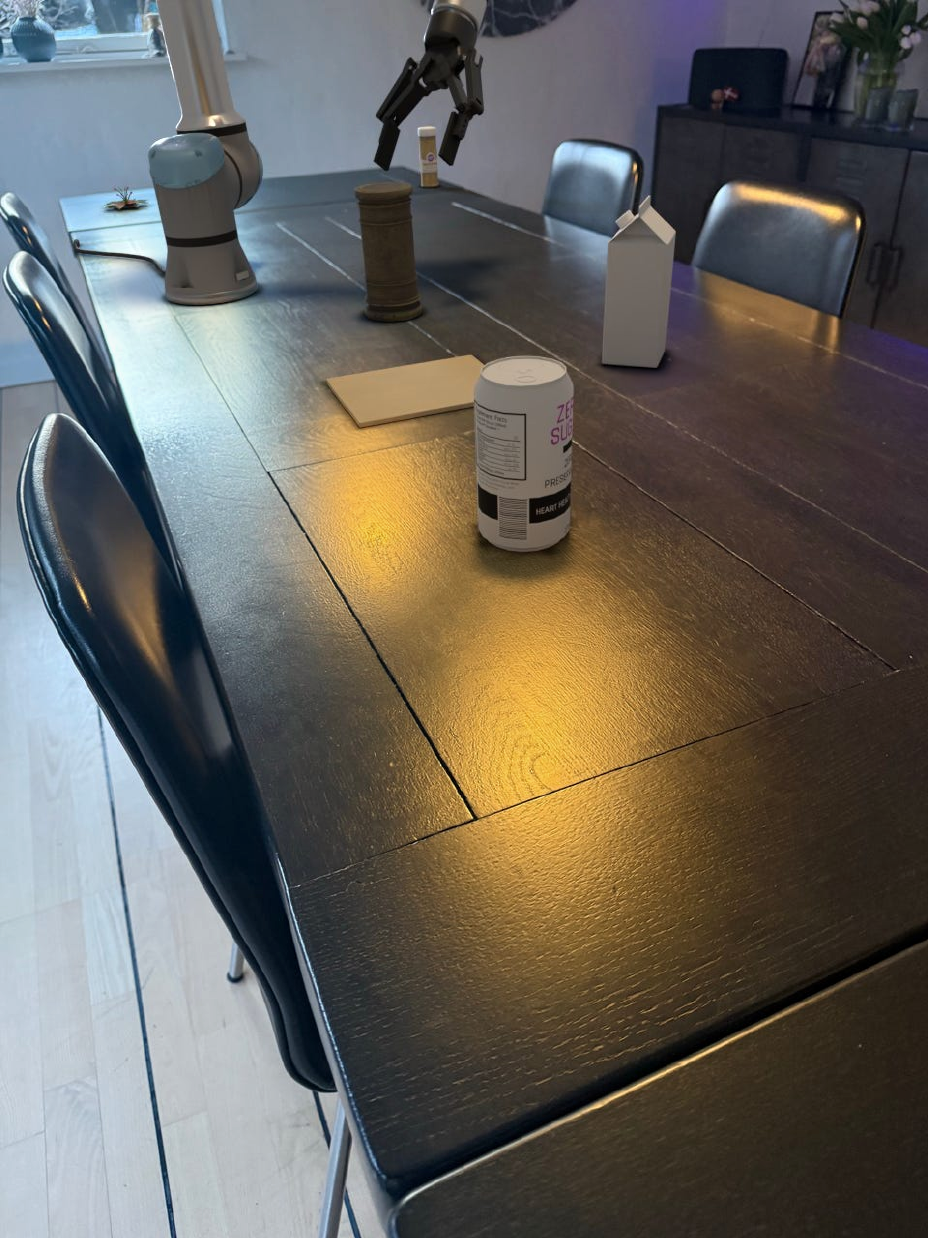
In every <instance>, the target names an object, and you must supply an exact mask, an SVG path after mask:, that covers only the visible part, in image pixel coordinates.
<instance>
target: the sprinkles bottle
mask: <svg viewBox="0 0 928 1238" xmlns="http://www.w3.org/2000/svg"><path fill="white" fill-rule="evenodd" d="M417 138H418V156H419V171H420V181H421V182H420V186H421V187H422V188H425V189H426V188H428V189H429V188H430V189H431V188H436V187H438V186H439V179H438V178H439V176H438V171H439V169H438V153H437V151H438V149H437V141H436V140H437V139H436V138H437V127H436V126H432V125H431V126H419V127H418V128H417Z"/></svg>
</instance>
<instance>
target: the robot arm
mask: <svg viewBox="0 0 928 1238" xmlns="http://www.w3.org/2000/svg"><path fill="white" fill-rule="evenodd" d="M489 1H490V0H434V2H433V5H432V8H431V15H430V16H429V19H428V23H427V26H426V30H425V33H424V34H423V35H424V36H423V44H424V54H423V55H422V58H421V59H420V60H415V59H413V57H411V56H410V57H408V58H407V59H406V61H405V64H404V66H403V69H402V71H401V73H400V74H399V76H398V77H397V79H396V81H395V83H394V84H393V86H392V87H391V89H390V91H389V92H388V94H387V95H386V97H385V98H384V100H383V101H382V103H381V105H380V107H379V108H378V109H377V112H376V113H375V118H376V119H378V121H380V122H381V123H382V127H381V129H380V134H379V137H378V145H377V149H376V152H375V155H374V158H373V163H374V164H375V165H377V167H379V168H381V170H383V171H384V172H389V170H390V167H391V165H392V161H393V158H394V154H395V152H396V151H395V150H396V148H397V145H398V141H399V139H400V138H399V137H400V134H401V129H400V128H399V127H400V126H401V125H402V123H403V122H404V121H405V120H406V119H407V117H409V115H410V114H411V113H412V111H413V110H414V109H415V108H416V107H417V106H418V104H420V102H421V101H422V100H423V99H424V98H425V97H429V96H430V95H431V94H432V92H436V91H439V90H448V89H449V92H450V95H451V97H452V100H453V103H454V105H455V106H453V108H454V109H455V110H453V111H451V112H450V115H449V118H448V121H447V125H446V127H445V131H444V135H443V138H442V141H441V144H440V147H439V151H438V153H437V157H439V158H440V159H441V160H442V161H443V162H444V163H445V164H446V165H448V166H449V167H453V166H454V164H455V161H456V157H457V154H458V151H459V148H460V145H461V141H463V140H464V138H465V136H466V132H467V130H468V126H469V123H470V121H472V119H473V118H474V116H476V115H477V116H479V117H480V116H482V115H483V114H484V112H485V103H484V93H483V92H484V91H483V80H482V79H483V78H482V68H483V63H484V57H483V56H482V55H481V53H480V52H479V50H477V49H476V44H477V40H478V34H479V33H480V30H481V27H482V24H483V21H484V17H485V13H486V11H487V7H488V4H489ZM155 5H156V10H157V12H158V17H159V21H160V25H161V29H162V34H163V38H164V39H163V40H164V43H165V47H166V52H167V56H168V60H169V64H170V69H171V73H172V78H173V82H174V86H175V90H176V94H177V99H178V103H179V107H180V112H181V117H180V119H179V121H178V123H177V124H176V126H175V131H176V135H172V136H171V137H163V138H162V139H159V140H158V141H155V142H154V143H153V144H152V145H151V146H150V147H149V149H148V153H147V159H148V165H149V169H148V172H149V176H150V179H151V182H152V185H153V191H154V194H155V199H156V203H157V208H158V212H159V216H160V221H161V225H162V229H163V235H164V238H165V243H166V249H167V251H166V265H165V269H164V268H163V266H161V265H160V264H159V262H157V261H156V260H155V259H154V258H152V257H149V256H145V255H141V254H134V253H126V252H125V253H124V252H111V251H100V250H90V249H89V250H88V249H82V248H79V247H80V246H81V243H80V240H79V238H75V239H74V240H73V242H72V246H73V250H74V252H76V253H78V254H81V255H88V256H99V257H111V258H124V259H133V260H138V261H139V260H140V261H145V262H147V263H149V264H152V265H153V266H154V267H155V268H156V269H157V270H158V271H159V272H160V273H161V274H162V275H163V276H164V277H165V278H164V291H165V295H166V299H167V300H168V301H169V302H172V303H175V304H179V305H190V306H199V305H200V306H202V305H215V304H222V303H227V302H233V301H237V300H240V299H244V298H247V297H249V296H251V295H253V294H254V293H256V291H258V289H259V286H258V281H257V280H258V279H257V277H256V274H255V271H254V269H253V267H252V265H251V263H250V261H249V259H248V257H247V255H246V253H245V250H244V249H243V247H242V245H241V243H240V239H239V235H238V234H239V233H238V228H237V223H236V217H235V210H238V209H241V208H242V207H244V206H246V205H247V204H248V203H250V202H251V201H252V199H253V198H254V196H255V195H256V194H257V193H258V191H259V189H260V187H261V185H262V181H263V178H264V177H263V176H264V166H263V161H262V156H261V154H260V152H259V150H258V148H257V146H256V145H255V144H254V143H253V142H252V141H251V139H250V137H249V130H248V127H247V122H246V118H244V117H243V116H242V115H241V114H240V113H238V112H237V111H236V109H235V108H234V103H233V98H232V94H231V93H232V92H231V88H230V84H229V79H228V74H227V69H226V63H225V58H224V54H223V48H222V44H221V39H220V33H219V28H218V25H217V20H216V14H215V10H214V5H213V0H155ZM463 71H464V76H465V89H466V92H465V89H464V83H463V80H462V78H461V74H462V72H463ZM421 79H422V82H423V83H421V82H420V80H421ZM423 84H424V85H423Z"/></svg>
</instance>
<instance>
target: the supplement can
mask: <svg viewBox="0 0 928 1238" xmlns="http://www.w3.org/2000/svg"><path fill="white" fill-rule="evenodd" d="M574 387H575V386H574V382H573V381H572V379H571V376H570V375H569V373H568V370H567V366H566V365H565V364H564V363H563V362H561V361H559V360H556V359H554V358H551V357H545V356H540V355H515V356H507V357H501V358H497V359H494V360H492V361H489V362H487V363H485V364H484V366H483V367H482V368H481V372H480V376H479V378H478V380H477V382H476V384H475V387H474V391H473V397H474V407H473V419H474V420H473V421H474V445H475V446H474V448H475V470H476V471H475V473H476V475H475V476H476V497H477V498H476V499H477V502H476V503H477V526H478V529H477V530H478V531H479V532H480V534H481V537H483V538H485V539H486V540H488V542H489V543H490V544H492V545H493V546H495V547H496V548H499V549H502V550H505V551H508V552H519V553H528V552H529V553H530V552H538V551H541V550H545V549H549V548H551V547H552V546H554V545H555V544H557V543H559V542H560V541H561V539H563V538H565V536H566V535H567V533H568V532H570V530H571V500H572V499H571V496H572V495H571V493H572V465H573V464H572V463H573V460H572V459H573V428H574V427H573V426H574V425H573V424H574V423H573V422H574V392H575V389H574Z"/></svg>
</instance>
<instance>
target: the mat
mask: <svg viewBox="0 0 928 1238" xmlns="http://www.w3.org/2000/svg"><path fill="white" fill-rule="evenodd" d="M484 365H485V364H484V363H482V362H481V360H479V359H477V357H475V356H474V355H472V354H465V355H459V356H453V357H448V358H441V359H436V360H430V361H424V362H418V363H412V364H411V363H410V364H407V365H400V366H394V367H388V368H382V369H376V370H370V371H365V372H359V373H352V374H348V375H342V376H340V375H339V376H335V377H329V378H325V383H326V385H327V386H328V388H329V389H330V390H331V391H332V393H333V394H334V395H335V397H336V398H337V400H338V401H339V402H340V403H341V405H342V406H343V408H344V409H345V410H346V411H347V413H348V414H349V415H350V416H351V418H352V419H353V420H354V422H355V423H356V424H357V426H358V427H359V428H360V429H361V428H366V427H371V426H376V425H377V426H378V425H382V424H383V425H384V424H388V423H392V422H398V421H403V420H409V419H414V418H420V417H425V416H429V415H430V416H431V415H436V414H441V413H446V412H452V411H458V410H462V409H469V408H474V397H473V391H474V387H475V384H476V382H477V380H478V378H479V376H480V372H481V368H482V367H483V366H484Z"/></svg>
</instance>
